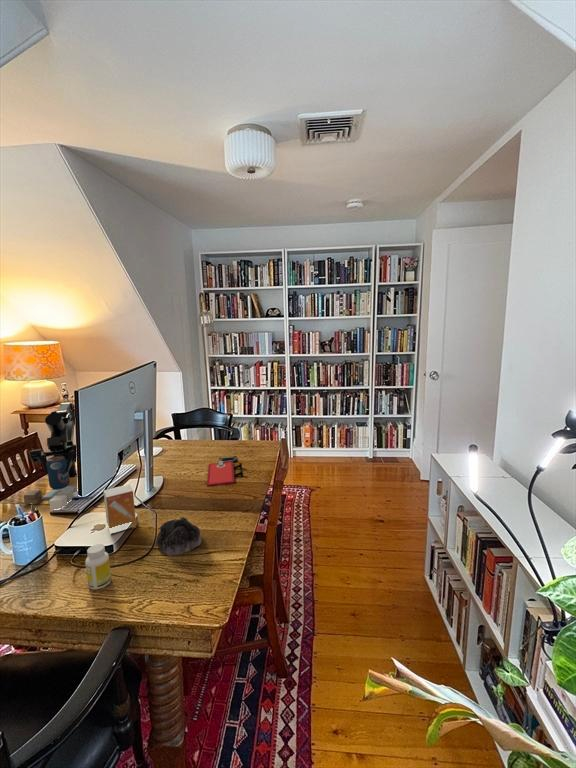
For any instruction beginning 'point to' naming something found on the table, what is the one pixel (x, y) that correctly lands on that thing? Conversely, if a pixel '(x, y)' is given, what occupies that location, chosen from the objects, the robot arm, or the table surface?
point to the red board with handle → (223, 472)
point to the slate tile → (55, 492)
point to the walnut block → (32, 496)
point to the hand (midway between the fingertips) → (57, 472)
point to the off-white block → (58, 501)
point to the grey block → (67, 493)
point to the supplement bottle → (98, 567)
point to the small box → (119, 506)
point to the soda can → (58, 472)
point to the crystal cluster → (178, 537)
